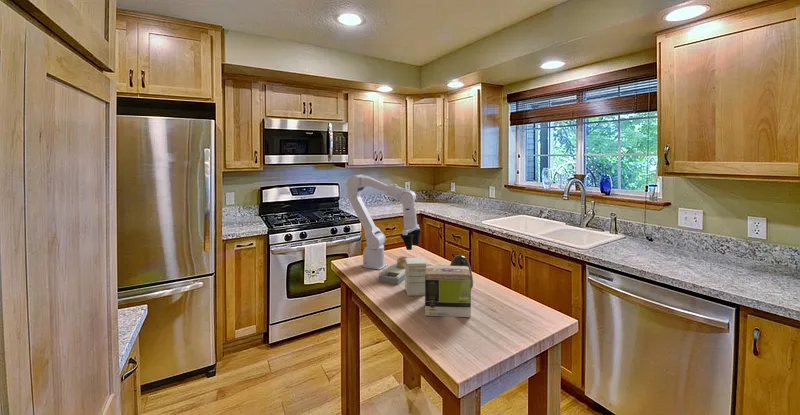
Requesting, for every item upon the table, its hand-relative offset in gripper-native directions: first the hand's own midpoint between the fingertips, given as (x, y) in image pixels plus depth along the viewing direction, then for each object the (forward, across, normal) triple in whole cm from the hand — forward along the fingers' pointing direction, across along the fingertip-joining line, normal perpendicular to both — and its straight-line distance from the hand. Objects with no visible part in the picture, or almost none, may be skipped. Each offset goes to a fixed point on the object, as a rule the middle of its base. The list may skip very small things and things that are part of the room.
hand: (412, 247), depth 163 cm
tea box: (+13, -34, -26) cm, 44 cm away
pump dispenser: (+13, -18, -26) cm, 34 cm away
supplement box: (+12, -23, -10) cm, 28 cm away
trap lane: (+10, -7, +4) cm, 13 cm away
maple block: (+8, -4, +4) cm, 9 cm away
